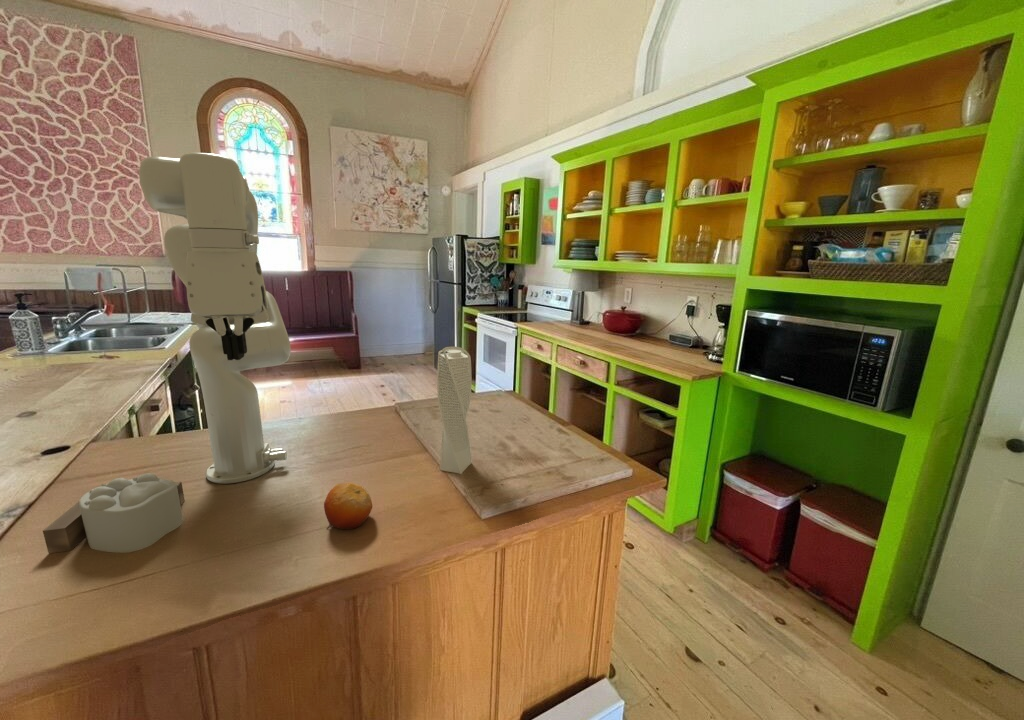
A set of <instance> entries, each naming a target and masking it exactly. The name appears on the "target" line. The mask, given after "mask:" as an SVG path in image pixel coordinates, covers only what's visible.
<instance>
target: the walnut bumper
mask: <svg viewBox="0 0 1024 720" xmlns="http://www.w3.org/2000/svg"><path fill="white" fill-rule="evenodd" d="M174 482H175V483H176V485H177V489H178V495H179V500H180V506H182V505H183V504H184V503H185V501H186V499H185V495H184V494H185V493H184V489H183V483H182V481H174ZM42 533H43V538H44V541H45V545H46V549H47V552H48V554H56V553H63V552H69V551H72V550H73V549H74V548H75V547H76V546H77V545H79V544H80V542H82V541H83V540H84V539H85V538H87V536H86V532H85V527H84V523H83V519H82V515H81V511H80V507H79V501H78V502H76V503H75V504H74V505H73V506H72V507H70V508H69V509H68V510H66V511H65V512H63V514H62V515H60V516H59V517H58V518H56V519H55V520H54V521H53V522H51V524H49V525H48V526H47V527H45V528H44V529H43V530H42Z"/></svg>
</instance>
